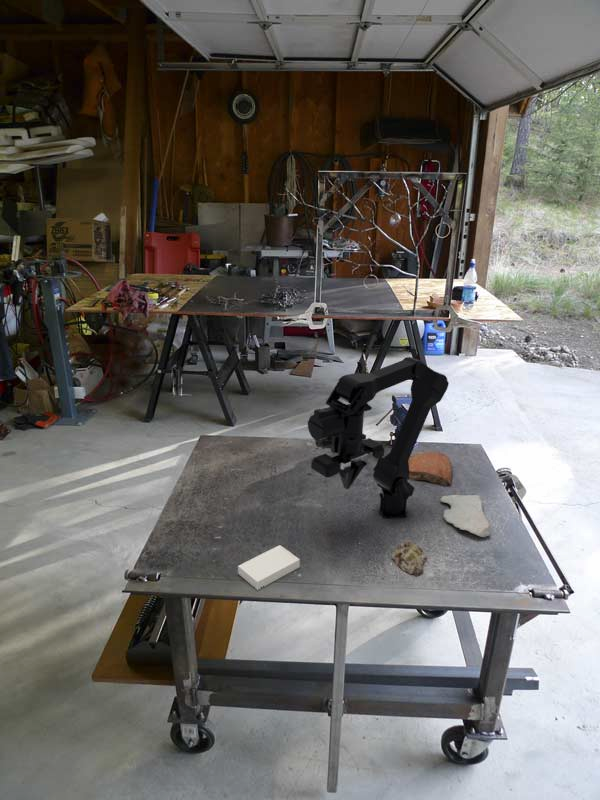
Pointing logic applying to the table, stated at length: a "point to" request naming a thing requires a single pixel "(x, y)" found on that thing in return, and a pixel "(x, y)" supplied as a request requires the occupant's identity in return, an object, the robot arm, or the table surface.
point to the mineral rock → (409, 557)
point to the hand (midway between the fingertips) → (346, 488)
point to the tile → (268, 567)
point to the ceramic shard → (430, 468)
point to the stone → (466, 514)
